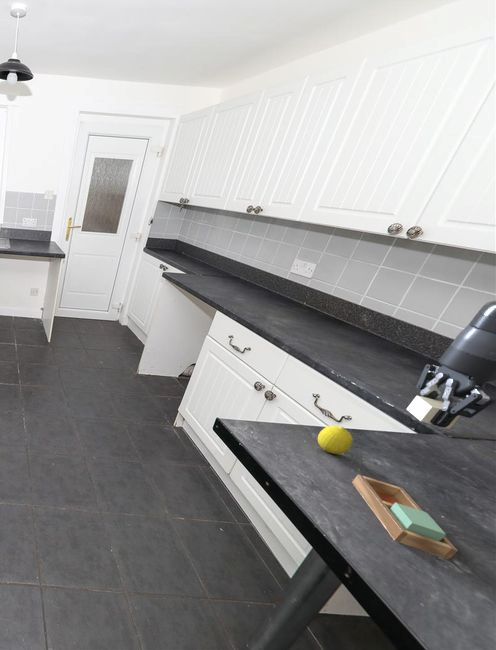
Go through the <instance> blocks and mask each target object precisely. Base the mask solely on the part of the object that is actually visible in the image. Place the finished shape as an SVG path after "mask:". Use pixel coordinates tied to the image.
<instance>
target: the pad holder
mask: <svg viewBox="0 0 496 650" xmlns="http://www.w3.org/2000/svg"><path fill="white" fill-rule="evenodd" d="M351 483H352V485H353V486H354V488H355V489H356V490H357V491H358V493H359V494H360V496H361V497H362V498H363V500H364V501H365V503H366V504H367V505H368V507H369V508H370V509H371V511H372V512H373V514H374V515H375V516H376V517H377V519H378V521H380V523H381V524H382V526H383V527H384V528H385V530H386V531H387V532H388V534H389V535H390V537H391V538H392V539H393V541H395V542H397V543H401V544H402V545H405V546H408V547H412V548H415V549H416V550H420V551H423V552H426V553H429V554H431V555H435V556H437V557H441V558H442V559H446V560H448V561H449V560H450V559H452V558H453V556H454V555H456V554H457V553H458V552H459V551H458V550H459V549H457V548H456V547H455V545H453V543H452V542H451V541H450V540H449V539H448V537H447V536H446V535H445V536H444V537H443V538H442V539H441V540H440V541H436V540H433V539H430V538H428V537H425V536H422V535H419V534H416V533H413V532H410V531H407V530H405V529H404V528H403V526H402V525H401V524H400V523H399V521H398V520H397V519H396V518H395V516H394V515H393V514H392V512H391V511H390V510H389V509H390V508H391V507H392V506H393V505H394V504H395V503H399V504H402V505H405V506H408V507H411V508H414V509H417V510H420V511H423V509H422V508H421V507H420V506H419V505H418V503H416V501H415V500H414V499H413V498H412V496H410V495H409V494H408V492H406V490H405V489H404V488H403V487H401V486H398V485H394V484H391V483H388V482H384V481H382V480H377V479H375V478H372V477H368V476H366V475H362V474H360V473H359V474H356V476H355V478H353V480H352V482H351Z"/></svg>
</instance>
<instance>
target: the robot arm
mask: <svg viewBox="0 0 496 650" xmlns="http://www.w3.org/2000/svg"><path fill="white" fill-rule="evenodd" d="M438 363H439V364H440V365H441V366H439V365H434V364H429V363H427V364H426V365H425V366H424V368H423V370H422V372H421V375H420V377H419V379H418V381H417V383H416V389H418V390H420V396H422V397H426V398H430V399H434V400H438V399H440V398H442V399H443V402H444V403H443V405H442V408H441V409H440V410H439V411H438V412H437V413H436V414H435V416H434V417H433V418H432V419H431V420H430V423H432V424H433V425H432V424H431V425H432V426H436V427H439V428H443V429H445V428H444V427H447V426H449V425H450V423H451V422H452V421H453V420H454V419H455V418H456V417H457V416H458V415H460V417H464V418H468V419H471V418H473V417H474V416H476V415H477V414H479V413H480V412H482V411H483V410H485V409H487V408H488V407H489V406H491V405H492V404H494V403H495V402H496V398H495V397H494V396H489V395H488V394H486V393H485V392H484V390H485V386H486V384H487V383H488V382H495V381H496V299H493V300H492V299H491V300H488V301H487V302H485V304H483V306H481V307H480V309H479V310H478V311H477V312H476V314H475V315H474V316H473V318H472V319H471V320H470V322H469V323H468V324H467V325H466V326H465V327H464V328H463V329H462V330H461V331H460V332H459V333H458V334H457V335H456V337H455V338H454V340H453V341H452V342H451V343H450V344H449V346H448V348H447V349H445V351H444V353H443V354H442V355H441V357H439V359H438ZM454 397H456V398H454ZM454 403H456V404H455V405H454V406H453V404H454ZM466 409H467V410H466Z"/></svg>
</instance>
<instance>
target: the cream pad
mask: <svg viewBox="0 0 496 650" xmlns="http://www.w3.org/2000/svg"><path fill="white" fill-rule="evenodd" d="M443 403H444V401H442V400H438V399H436V400H434V399H430V398H426V397H422V396H421V395H416V396H415V397H414V398H413V399H412V401H411V402H410V403H409V405H408V406H407V408H406V411H408V412H409V413H410V414H411V415H412V416H413V417H414V418H416V419H417V420H419V421H420V422H422V423H426V424H430V425H432V426H434V425H433V424H432V423H430V420H431V419H432V418H433V417H434V416H435V414H436V413H437V412H438V411H439V410H440V409H441V408H442V405H443ZM460 418H461V416H460V415H458V416H457V417H456V418H455V419H454V420H453V421H452V422H451V423H450V425H449V426H447V427H444V428H443V429H448V430H450V429H451V428H452V427H453V426H454V424H455V423H456V422H457V421H458V420H459V419H460Z"/></svg>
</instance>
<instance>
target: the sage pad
mask: <svg viewBox="0 0 496 650" xmlns="http://www.w3.org/2000/svg"><path fill="white" fill-rule="evenodd" d="M389 510H390V511H391V512H392V514H393V515H394V516H395V518H396V519H397V520H398V521H399V523H400V524H401V525H402V526H403V528H404V529H405V530H407V531H410V532H413V533H416V534H419V535H422V536H425V537H428V538H430V539H433V540H436V541H440V540H441V539H442V538H443V537H444V536H445V537H446V536H447V533H446V532H445V531H444V530H443V529H442V528H441V527H440V526H439V525H438V523H437V522H436V521H435V520H434V519H433V518H432V516H431V515H430V514H429V513H428V512H426V511H424V510H422V511H420V510H417V509H414V508H411V507H408V506H405V505H402V504H399V503H395V504H394V505H393V506H392V507H391V508H390V509H389Z"/></svg>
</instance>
